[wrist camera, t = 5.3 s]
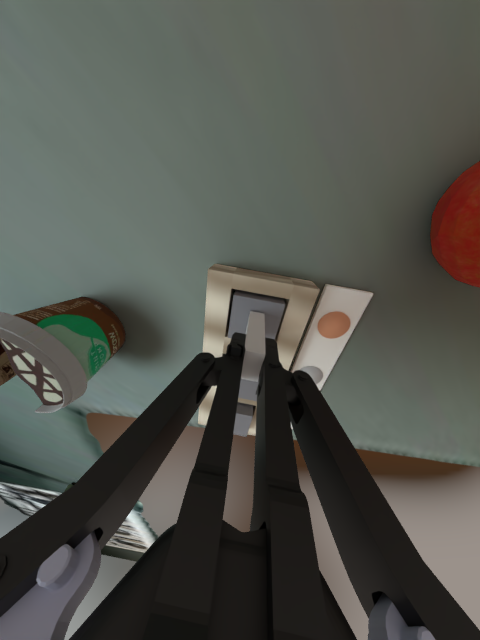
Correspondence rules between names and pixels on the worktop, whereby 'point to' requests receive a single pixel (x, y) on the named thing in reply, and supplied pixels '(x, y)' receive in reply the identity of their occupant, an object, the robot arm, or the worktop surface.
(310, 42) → the worktop surface
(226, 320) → the button board
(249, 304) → the button
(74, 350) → the food container
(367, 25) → the worktop surface
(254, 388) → the middle button
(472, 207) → the apple
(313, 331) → the pattern card
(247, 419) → the button
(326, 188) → the worktop surface
